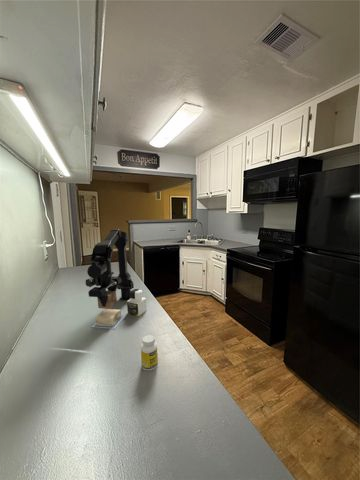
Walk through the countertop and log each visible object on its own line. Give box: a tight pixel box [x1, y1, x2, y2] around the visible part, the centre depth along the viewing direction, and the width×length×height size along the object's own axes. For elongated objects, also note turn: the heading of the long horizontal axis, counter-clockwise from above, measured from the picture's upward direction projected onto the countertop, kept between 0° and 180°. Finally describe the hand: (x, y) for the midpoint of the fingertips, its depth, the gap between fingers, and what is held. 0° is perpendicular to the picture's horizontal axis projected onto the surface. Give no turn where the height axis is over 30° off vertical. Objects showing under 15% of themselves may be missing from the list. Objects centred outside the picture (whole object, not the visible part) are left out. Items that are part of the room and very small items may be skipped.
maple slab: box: [95, 308, 122, 327], centre depth 95 cm, size 8×8×4 cm
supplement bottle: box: [140, 334, 159, 371], centre depth 67 cm, size 5×5×10 cm
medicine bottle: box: [126, 288, 148, 317], centre depth 103 cm, size 7×7×12 cm
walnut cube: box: [96, 290, 118, 310], centre depth 94 cm, size 6×6×6 cm
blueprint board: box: [90, 314, 127, 330], centre depth 95 cm, size 12×12×1 cm
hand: (107, 303), depth 94 cm, fingers closed on walnut cube, 6 cm apart
